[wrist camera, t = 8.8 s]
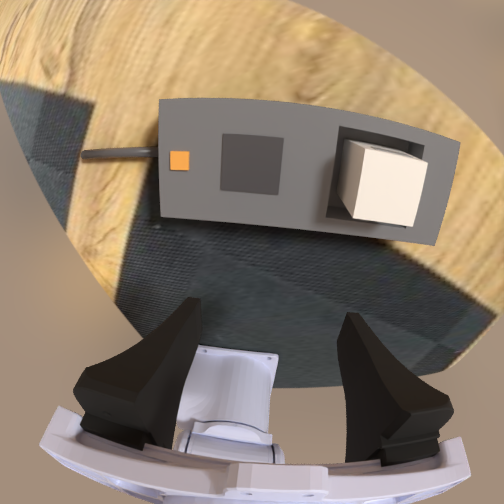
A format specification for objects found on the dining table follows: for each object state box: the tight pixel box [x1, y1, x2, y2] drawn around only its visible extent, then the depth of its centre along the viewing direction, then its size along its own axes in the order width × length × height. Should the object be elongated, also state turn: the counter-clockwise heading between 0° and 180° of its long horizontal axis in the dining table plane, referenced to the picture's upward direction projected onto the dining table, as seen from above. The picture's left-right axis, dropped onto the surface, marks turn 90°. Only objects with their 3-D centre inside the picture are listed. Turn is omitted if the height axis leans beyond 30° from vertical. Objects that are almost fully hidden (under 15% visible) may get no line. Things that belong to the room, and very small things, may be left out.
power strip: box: [81, 98, 460, 246], centre depth 18 cm, size 29×8×4 cm, turn 86°
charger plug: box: [337, 138, 428, 227], centre depth 17 cm, size 4×4×5 cm
